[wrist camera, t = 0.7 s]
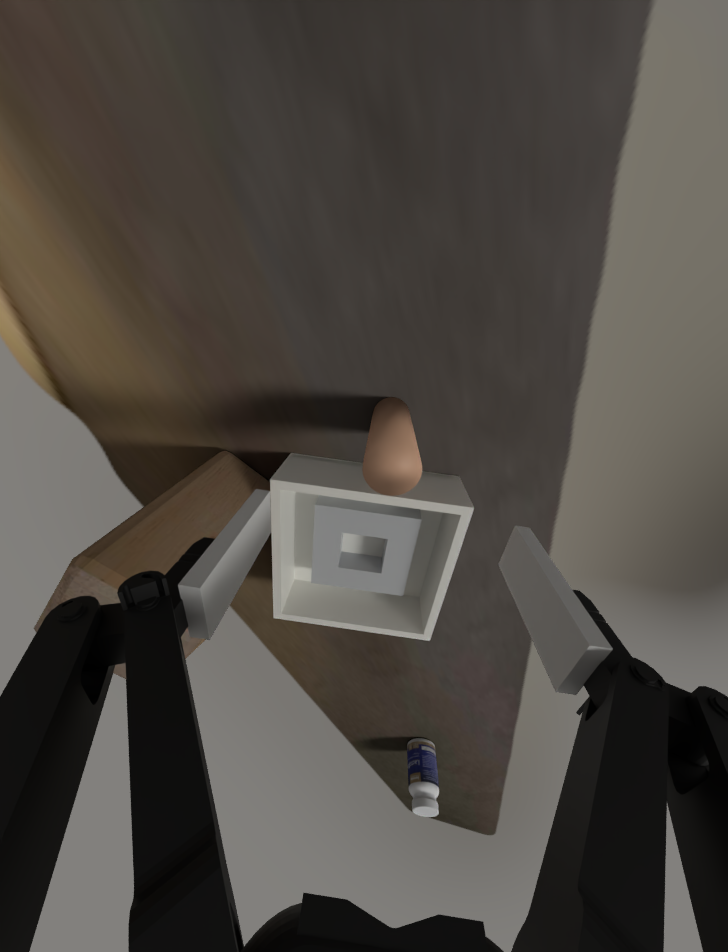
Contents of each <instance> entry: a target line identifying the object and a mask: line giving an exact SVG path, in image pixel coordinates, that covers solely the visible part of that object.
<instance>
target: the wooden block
mask: <svg viewBox="0 0 728 952" xmlns="http://www.w3.org/2000/svg"><path fill="white" fill-rule="evenodd" d="M255 489H260V490H267V491H270V482H269V481H268V480H266V479H265V478H264V477H262V476H261V475H260V474H258V473H257V472H256V471H254V470H253V469H252V468H250V467H249V466H248V465H246V464H245V463H244V462H242V461H241V460H240V459H239V458H237V457H236V456H235V455H233V454H232V453H230V452H228V451H222V452H219V453H217V454H216V455H215V456H213V457H212V458H211V459H209V460H208V461H207V462H205V463H204V464H202V465H201V466H200V467H198V468H197V469H196V470H194V471H193V472H191V473H190V474H189V475H187V476H186V477H185V478H183V479H182V480H180V481H179V482H178V483H176V484H175V485H174V486H172V487H171V488H169V489H168V490H167V491H165V492H164V493H163V494H161V495H160V496H158V497H157V498H156V499H154V500H153V501H152V502H150V503H149V504H147V505H146V506H145V507H143V508H142V509H141V510H139V511H138V512H136V513H135V514H134V515H132V516H131V517H130V518H128V519H127V520H125V521H124V522H123V523H121V524H120V525H119V526H117V527H116V528H114V529H113V530H112V531H110V532H109V533H108V534H106V535H105V536H103V537H102V538H101V539H99V540H98V541H97V542H95V543H94V544H93V545H91V546H90V547H88V548H87V549H86V550H84V551H83V552H82V553H80V554H79V555H78V556H76V557H75V558H73V559H72V561H71V563H70V564H69V566H68V568H67V570H66V571H65V573H64V575H63V577H62V579H61V581H60V582H59V584H58V586H57V588H56V589H55V591H54V593H53V595H52V597H51V598H50V600H49V602H48V604H47V606H46V608H45V609H44V611H43V613H42V615H41V616H40V618H39V620H38V622H37V624H36V625H35V627H34V629H35V631H36V632H37V631H38V629H39V628H40V626H41V624H42V622H43V621H44V619H45V617H46V616H47V615H48V614H49V612H50V611H51V610H52V609H54V608H55V607H56V606H58V605H59V604H61V603H63V602H65V601H67V600H69V599H72V598H76V597H79V596H92V597H96V599H97V600H98V601H99V604H100V605H106V604H114V603H120V600H119V597H118V594H117V592H118V589H119V587H120V585H121V584H122V583H123V582H124V581H125V580H127V579H128V578H130V577H131V576H133V575H136V574H138V573H140V572H145V571H159V572H161V573H163V574H164V575H165V574H166V573H167V572H168V571H169V570H170V569H171V568H172V566H173V565H174V564H175V563H176V562H177V561H179V559H180V558H181V556H182V555H183V554H185V552H186V551H187V550H188V549H189V548H190V546H191V545H192V544H193V543H195V542H197V541H198V540H200V539H202V538H203V537H207V538H214V539H216V537H217V536H218V535H219V534H220V532H221V531H222V530H223V529H224V527H225V526H226V525H227V524H228V523H229V521H230V520H231V519H232V518H233V516H234V515H235V514H236V513H237V511H238V510H239V509H240V508H241V507H242V505H243V504H244V503H245V502H246V500H247V499H248V498H249V497H250V496H251V494H252V493H253V492H254V491H255ZM270 507H271V498H270ZM181 640H182V645H183V650H184V655H185V659H186V658H187V657H188V656H189V655H190V654H191V653H192V652H193V651H194V650H195V649H196V648H197V647H198V646H199V645H200V644H201V643H202V642H204V641H205V640H206V639H200V638H194V637H190V636H189V631H188V627H187V629H186V630H185V632H184V633H183V635H182V636H181ZM113 673H114V674H116V675H119V676H120V677H123V678H125V679H126V663H123V664H117V665H115V668H114V672H113Z"/></svg>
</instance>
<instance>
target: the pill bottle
mask: <svg viewBox="0 0 728 952" xmlns="http://www.w3.org/2000/svg"><path fill="white" fill-rule="evenodd" d="M407 755H408V781H409V792H410V794H411V795H412V796H413V801H412V810H413V812H414V813H415V814H417V815H419V816H423V817H434V816H437V815H438V813H439V811H438V803H437V801H436V798H437V797H438V794H439V783H438V773H437V763H436V753H435V746H434V744H433V743H432V742H431V741H430V740H428V739H424V738H415V739H412V740H410V741H409V742H408V744H407Z"/></svg>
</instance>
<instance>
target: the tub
mask: <svg viewBox="0 0 728 952" xmlns="http://www.w3.org/2000/svg"><path fill="white" fill-rule="evenodd" d="M362 468H363V463H361V462H354V461H347V460H340V459H332V458H325V457H318V456H311V455H304V454H296V453H290V455H289V456H288V457H287V458H286V460H285V461H284V462H283V464H282V465H281V466H280V467H279V469H278V470H277V471H276V472H275V474H274V475H273V476H272V477H271V479H270V498H271V536H272V573H273V611H274V618H278V619H284V620H291V621H298V622H305V623H312V624H318V625H325V626H332V627H339V628H346V629H352V630H359V631H366V632H373V633H380V634H386V635H393V636H400V637H407V638H413V639H420V640H427V641H430V639H431V636H432V633H433V630H434V627H435V624H436V621H437V618H438V615H439V612H440V609H441V606H442V603H443V600H444V597H445V594H446V591H447V588H448V585H449V582H450V579H451V576H452V573H453V570H454V567H455V564H456V561H457V558H458V555H459V552H460V549H461V546H462V543H463V540H464V537H465V534H466V531H467V528H468V525H469V522H470V519H471V516H472V513H473V510H474V507H473V504H472V502H471V500H470V498H469V496H468V494H467V492H466V490H465V488H464V485H463V483H462V481H461V479H460V477H459V476H455V475H448V474H441V473H434V472H426V471H422V474H421V478H420V480H419V482H418V483H417V484H416V486H415V487H414V488H413V489H411V490H410V491H408V492H406V493H404V494H401V495H396V496H388V495H383V494H380V493H378V492H376V491H374V490H373V489H372V488H371V487H370V486H369V485H368V484H367V483H366V481H365V479H364V476H363V470H362Z"/></svg>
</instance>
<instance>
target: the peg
mask: <svg viewBox="0 0 728 952" xmlns="http://www.w3.org/2000/svg"><path fill="white" fill-rule="evenodd" d="M362 470H363V476H364V479H365V481H366V483H367V484H368V485H369V486H370V487H371V488H372V489H373V490H374V491H376V492H378V493H380V494H383V495H388V496H396V495H401V494H404V493H406V492H408V491H410V490H411V489H413V488H414V487H415V486H416V484H417V483H418V482H419V480H420V478H421V474H422V463H421V458H420V454H419V450H418V446H417V442H416V438H415V433H414V429H413V425H412V421H411V417H410V413H409V409H408V407H407V405H406V404H405V403H404V402H403V401H402V400H400V399H398V398H395V397H388V398H385V399H382V400H381V401H380V402H378V403H377V405H376V406H375V408H374V410H373V415H372V420H371V425H370V431H369V436H368V441H367V446H366V451H365V456H364V461H363V468H362Z"/></svg>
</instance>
